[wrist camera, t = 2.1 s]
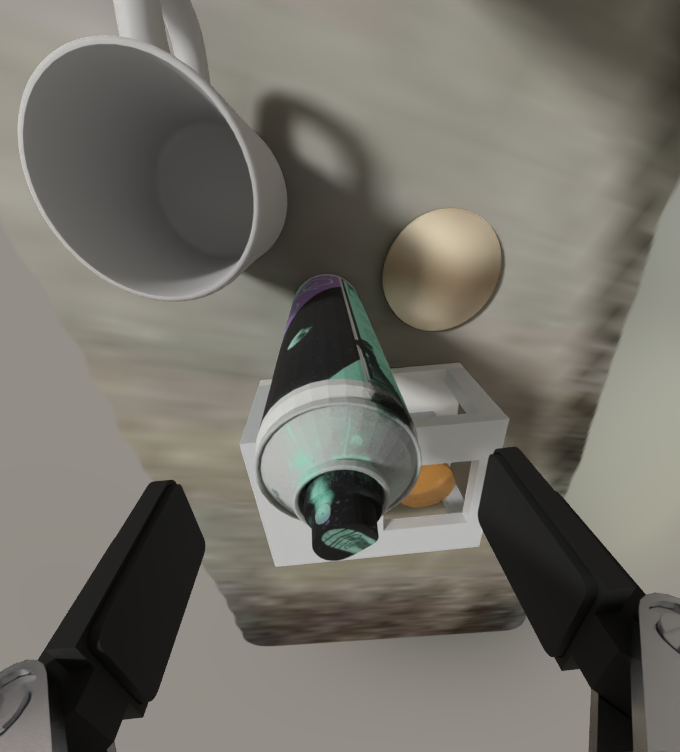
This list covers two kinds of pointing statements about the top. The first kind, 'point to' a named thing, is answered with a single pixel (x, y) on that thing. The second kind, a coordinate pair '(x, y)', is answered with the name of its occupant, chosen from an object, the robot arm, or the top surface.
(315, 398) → the spray can
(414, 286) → the coaster
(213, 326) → the top surface
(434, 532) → the white open box frame
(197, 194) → the mug
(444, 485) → the button
